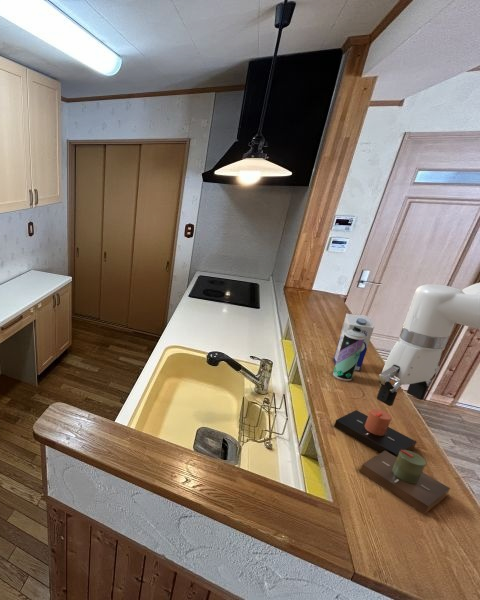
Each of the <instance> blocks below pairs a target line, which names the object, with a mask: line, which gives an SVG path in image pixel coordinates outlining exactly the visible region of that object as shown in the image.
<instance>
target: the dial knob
mask: <svg viewBox="0 0 480 600" xmlns="http://www.w3.org/2000/svg"><path fill="white" fill-rule="evenodd" d="M367 416H368V418H367V420H366V423H365V426H364V427H365V429H366V430H367V431H369V432H370V433H372V434H375V435H378V436H384V435H385V434H386V431H387V429H388V427H390V424H391V421H392V419H393V416H392V415H391V414H390V413H388V412H387V411H385V410H382V409H379V408H370V410H369V412H368V415H367Z"/></svg>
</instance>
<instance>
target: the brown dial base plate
mask: <svg viewBox="0 0 480 600" xmlns="http://www.w3.org/2000/svg"><path fill="white" fill-rule="evenodd" d="M396 459H397V457H395V456H394V455H392V454H390V453H389V452H387V451H383V452H382V453H380V454H379V453H377V455H375V456H374V457H372V458H370V459H368V460H367V461H365V462H363V463H362V464H361V467H360V470H359V472H360V473H361V474H363V475H364V476H366V477H367V478H369V479H370V480H371V481H373V482H375V483H377V484H378V485H379V486H381V487H382V488H384V489H386V491H388V492H390V493H391V494H393V495H394V496H396V497H397V498H399V499H401V500H402V501H403V502H405V503H407V504H408V505H410V506H411V507H412V508H414V509H416V510H417V511H418V512H420V513H422V514H423V515H426V514H427V512H429V511H430V510H431V509H433V508H434V507H435V506H436V505H437V504H439V503H440V502H441V501H442V500H443V499H445V498H446V497H447V496H448V494H449V492H450V491H451V487H449V486H447V485H446V484H444V483H442V482H441V481H438V480H437V479H435V478H434V477H432V476H430V475H428V474H426V473H425V472H424V471H423V472H422V474H421V476H420V478H419V480H418V482H417V483H408V482H405V481H403V480H401V479H399V478H398V477H397V476H395V475H394V473H393V472H392V468H393V466H394V464H395V461H396Z"/></svg>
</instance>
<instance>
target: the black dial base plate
mask: <svg viewBox="0 0 480 600" xmlns="http://www.w3.org/2000/svg"><path fill="white" fill-rule="evenodd" d="M367 418H368V415H367V414H365V413H362V412H361V411H359V410H357V409H356V410H352V411H351V412H348V413H347V414H345V415H343V416H341V417H339V418H337V419H336V420H335V422H334V425H333V427H334V428H336V429H337V430H339V431H341V432H342V433H344V434H346V435H347V436H349V437H351V438H353V439H354V440H355V441H356V442H357V441H358V442H359V443H361V444H362V445H364V446H366V447H367V448H369V449H371V450H373V451H374V452H376V453H377V454H380V453H382V452H383V451H387V452H389V453H390V454H392V455H394V456H395V457H397V456H398V454H399V452H400V450H408V451H411V452H412V451H413V450H414V449H415V447H416V445H417V441H416V440H414V439H412V438H410V437H409V436H407V435H405V434H403V433H401V432H399V431H398V430H395V429H394V428H391V427H390V426H388V429H387V431H386V434H385V435H384V436H378V435H375V434H372V433H370V432H369V431H367V430H366V429H365V427H364V426H365V423H366V420H367Z"/></svg>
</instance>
